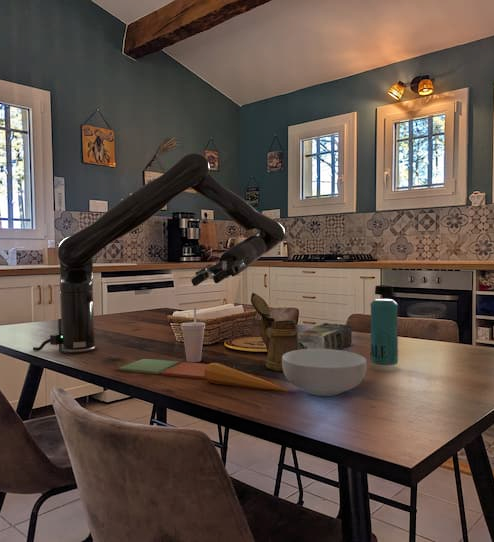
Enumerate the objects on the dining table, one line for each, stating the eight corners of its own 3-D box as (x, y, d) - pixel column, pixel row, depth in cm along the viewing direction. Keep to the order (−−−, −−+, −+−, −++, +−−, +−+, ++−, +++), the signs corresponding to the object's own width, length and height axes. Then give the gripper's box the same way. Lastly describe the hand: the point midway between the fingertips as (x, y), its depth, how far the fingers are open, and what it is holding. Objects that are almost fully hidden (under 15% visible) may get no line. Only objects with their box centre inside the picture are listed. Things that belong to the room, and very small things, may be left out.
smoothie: (202, 363, 129) (201, 308, 128) (178, 363, 130) (177, 308, 130) (208, 358, 135) (207, 305, 135) (185, 357, 137) (184, 305, 136)
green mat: (118, 370, 124) (118, 367, 124) (143, 360, 134) (143, 358, 134) (157, 374, 119) (156, 371, 119) (180, 363, 129) (180, 361, 129)
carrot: (202, 385, 112) (199, 368, 110) (213, 373, 115) (210, 356, 113) (286, 406, 102) (285, 389, 100) (295, 393, 106) (293, 375, 104)
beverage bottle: (398, 366, 123) (398, 284, 122) (398, 373, 117) (398, 286, 116) (370, 364, 125) (370, 283, 124) (368, 371, 119) (368, 286, 118)
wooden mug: (261, 359, 133) (260, 290, 132) (309, 365, 126) (308, 292, 125) (243, 366, 126) (242, 293, 125) (292, 373, 118) (291, 296, 117)
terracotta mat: (160, 374, 119) (160, 372, 119) (183, 364, 129) (183, 361, 129) (202, 379, 114) (202, 376, 114) (223, 367, 124) (223, 365, 124)
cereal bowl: (310, 408, 93) (309, 370, 92) (267, 385, 108) (267, 353, 108) (384, 396, 100) (384, 360, 99) (334, 376, 115) (334, 345, 114)
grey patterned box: (324, 357, 134) (323, 333, 134) (291, 353, 140) (290, 331, 139) (353, 345, 150) (353, 324, 150) (322, 342, 156) (322, 322, 156)
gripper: (217, 249, 152) (181, 271, 141) (252, 242, 142) (217, 266, 131) (226, 271, 154) (191, 295, 143) (261, 266, 144) (227, 292, 133)
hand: (203, 281), depth 137 cm, fingers open, 8 cm apart
